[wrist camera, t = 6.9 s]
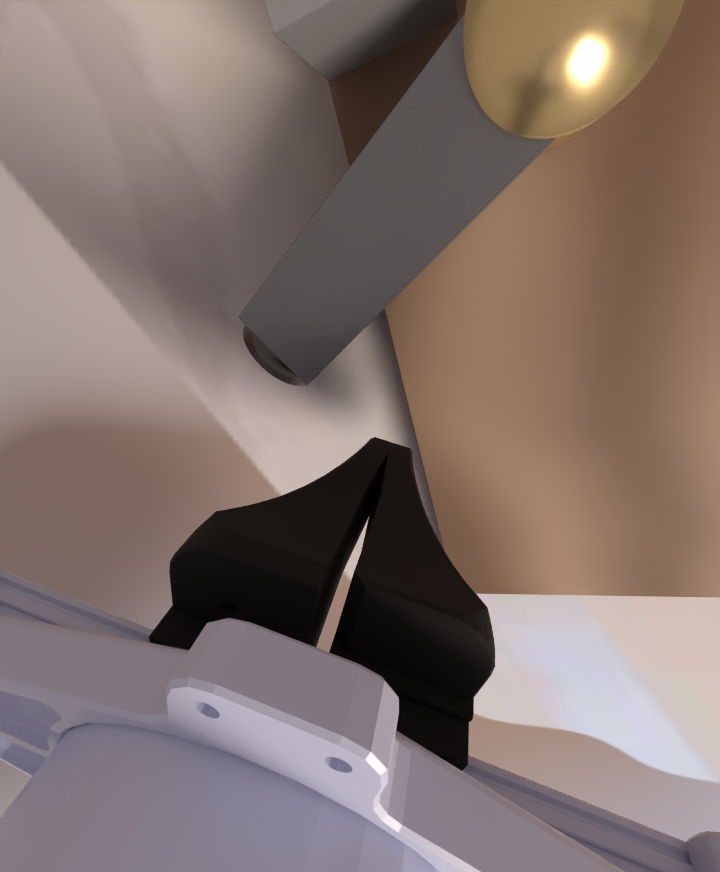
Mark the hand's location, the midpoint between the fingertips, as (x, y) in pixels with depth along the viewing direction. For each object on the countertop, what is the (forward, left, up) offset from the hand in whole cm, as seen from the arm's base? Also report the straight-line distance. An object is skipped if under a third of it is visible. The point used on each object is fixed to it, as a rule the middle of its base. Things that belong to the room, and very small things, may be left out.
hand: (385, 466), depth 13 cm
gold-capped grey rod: (-2, -7, -1) cm, 7 cm away
